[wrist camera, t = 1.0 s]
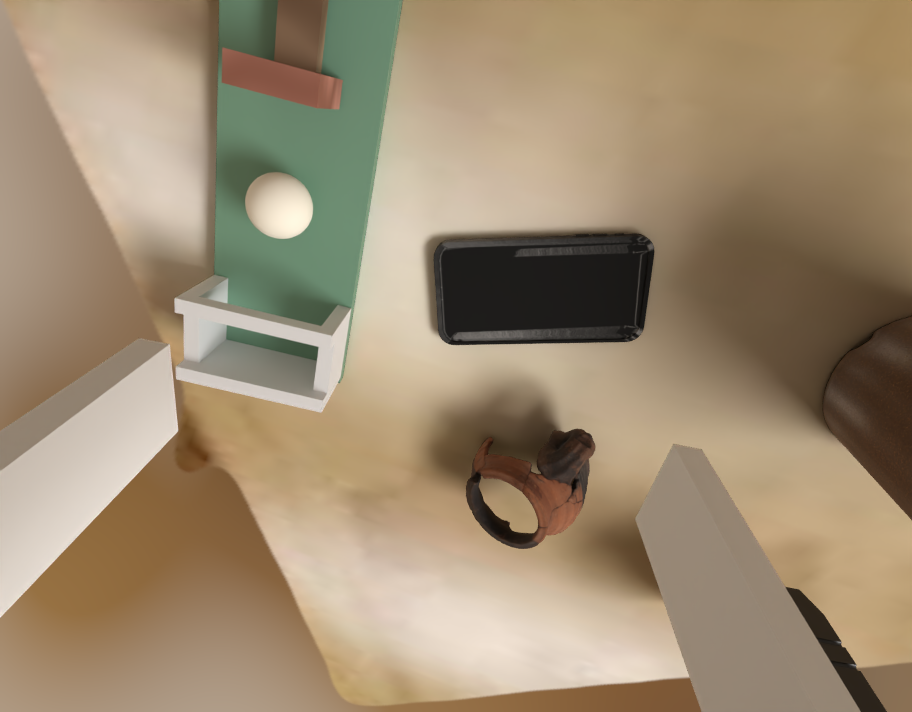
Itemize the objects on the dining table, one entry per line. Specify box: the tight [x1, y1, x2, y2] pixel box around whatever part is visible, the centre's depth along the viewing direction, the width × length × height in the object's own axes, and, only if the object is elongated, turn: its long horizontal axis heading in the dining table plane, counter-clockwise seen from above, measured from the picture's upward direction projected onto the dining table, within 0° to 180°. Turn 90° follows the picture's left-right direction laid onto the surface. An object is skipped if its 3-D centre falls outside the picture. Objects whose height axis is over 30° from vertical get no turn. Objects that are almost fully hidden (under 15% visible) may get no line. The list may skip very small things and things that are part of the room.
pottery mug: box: [466, 429, 595, 549], centre depth 39 cm, size 12×10×8 cm
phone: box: [434, 234, 654, 345], centre depth 35 cm, size 8×1×15 cm
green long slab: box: [174, 0, 403, 412], centre depth 29 cm, size 31×10×6 cm, turn 166°
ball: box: [245, 172, 313, 239], centre depth 30 cm, size 4×4×4 cm
